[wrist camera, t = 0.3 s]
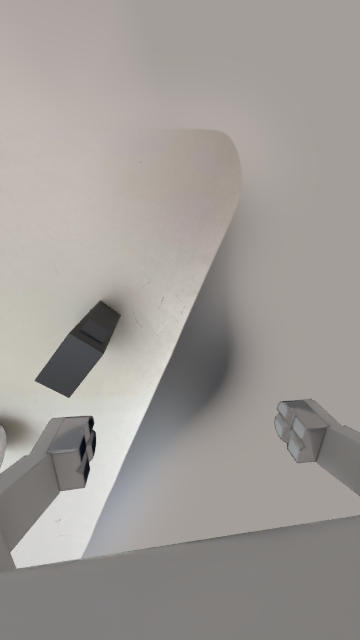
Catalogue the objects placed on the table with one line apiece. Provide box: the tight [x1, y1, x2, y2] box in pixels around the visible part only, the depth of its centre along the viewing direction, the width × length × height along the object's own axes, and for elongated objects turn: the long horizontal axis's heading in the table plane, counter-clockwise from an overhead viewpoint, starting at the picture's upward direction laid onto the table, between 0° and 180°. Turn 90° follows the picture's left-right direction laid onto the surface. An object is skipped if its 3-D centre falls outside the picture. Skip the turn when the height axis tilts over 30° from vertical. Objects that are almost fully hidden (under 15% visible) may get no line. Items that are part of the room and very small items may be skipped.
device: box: [35, 301, 121, 398], centre depth 25 cm, size 6×4×12 cm, turn 140°
